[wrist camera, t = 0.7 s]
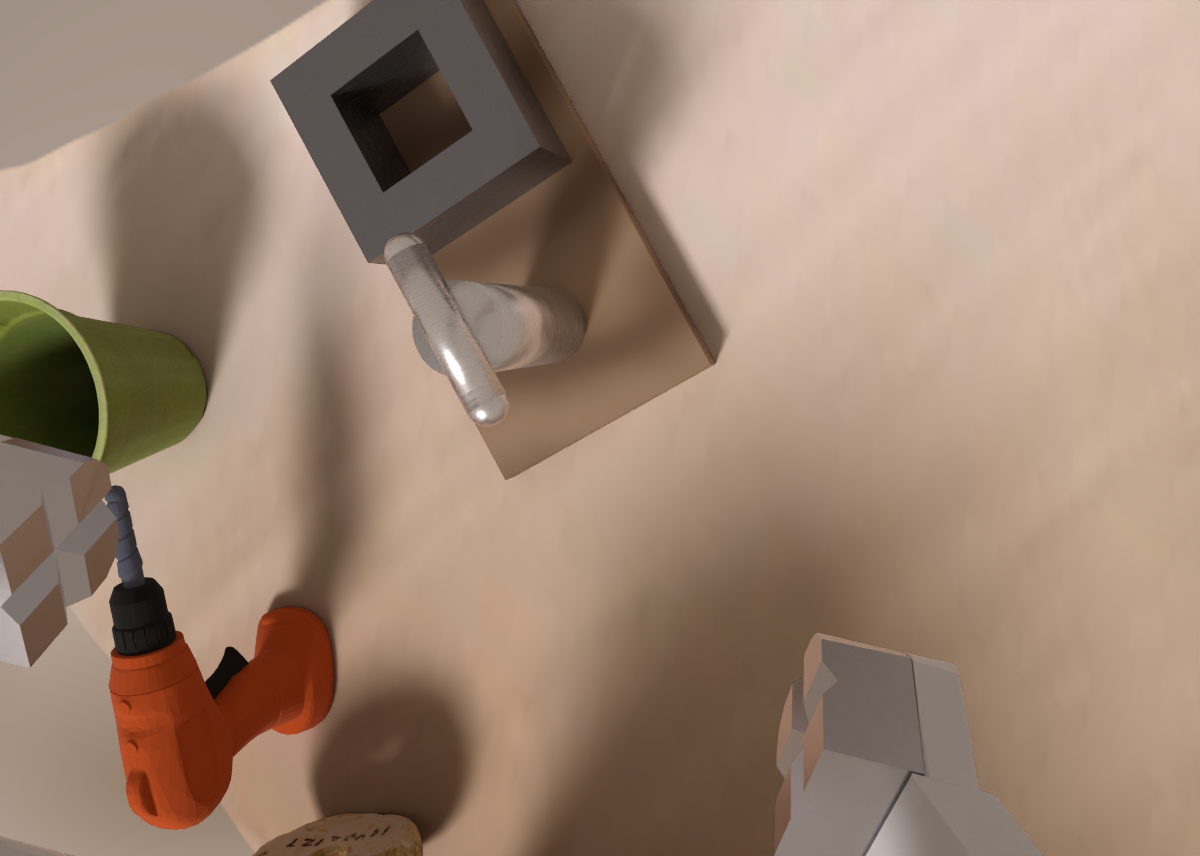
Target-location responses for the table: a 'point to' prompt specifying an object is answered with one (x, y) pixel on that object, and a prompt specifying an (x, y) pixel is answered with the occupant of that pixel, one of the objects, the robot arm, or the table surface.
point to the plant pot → (93, 383)
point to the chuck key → (481, 326)
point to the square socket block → (384, 76)
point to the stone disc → (349, 837)
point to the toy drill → (200, 692)
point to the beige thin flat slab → (561, 269)
